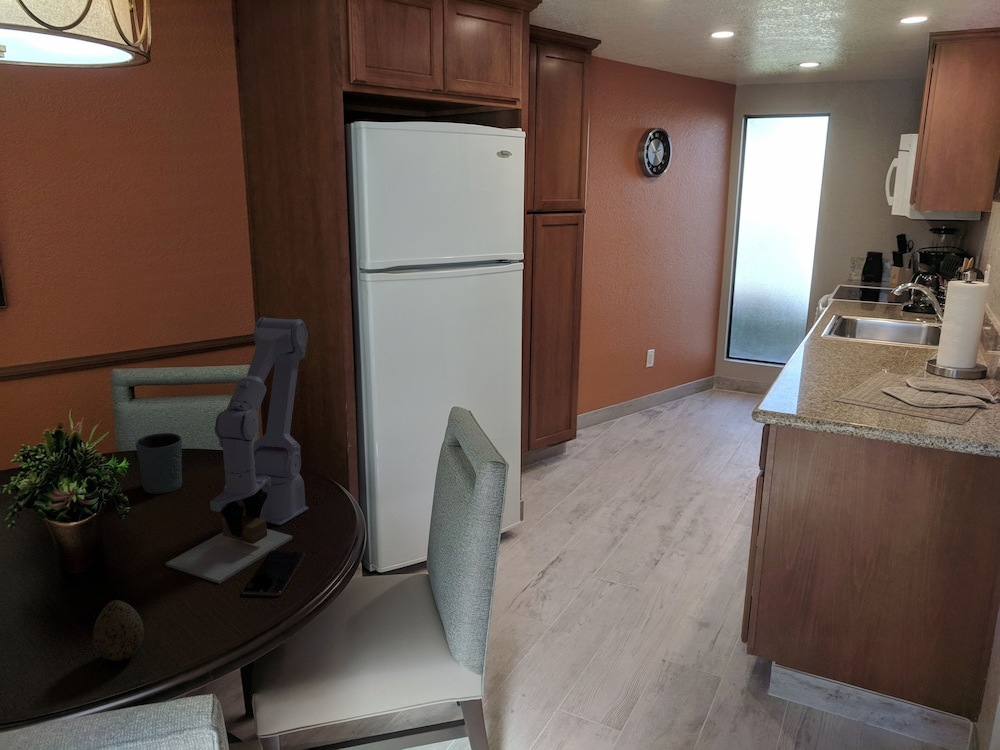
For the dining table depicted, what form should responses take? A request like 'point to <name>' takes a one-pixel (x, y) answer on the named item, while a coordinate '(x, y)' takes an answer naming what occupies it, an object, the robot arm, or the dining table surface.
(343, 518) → the dining table surface
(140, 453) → the grey pot
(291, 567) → the smartphone
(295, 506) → the robot arm
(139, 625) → the decorative egg
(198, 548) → the mat
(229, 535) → the brown block
